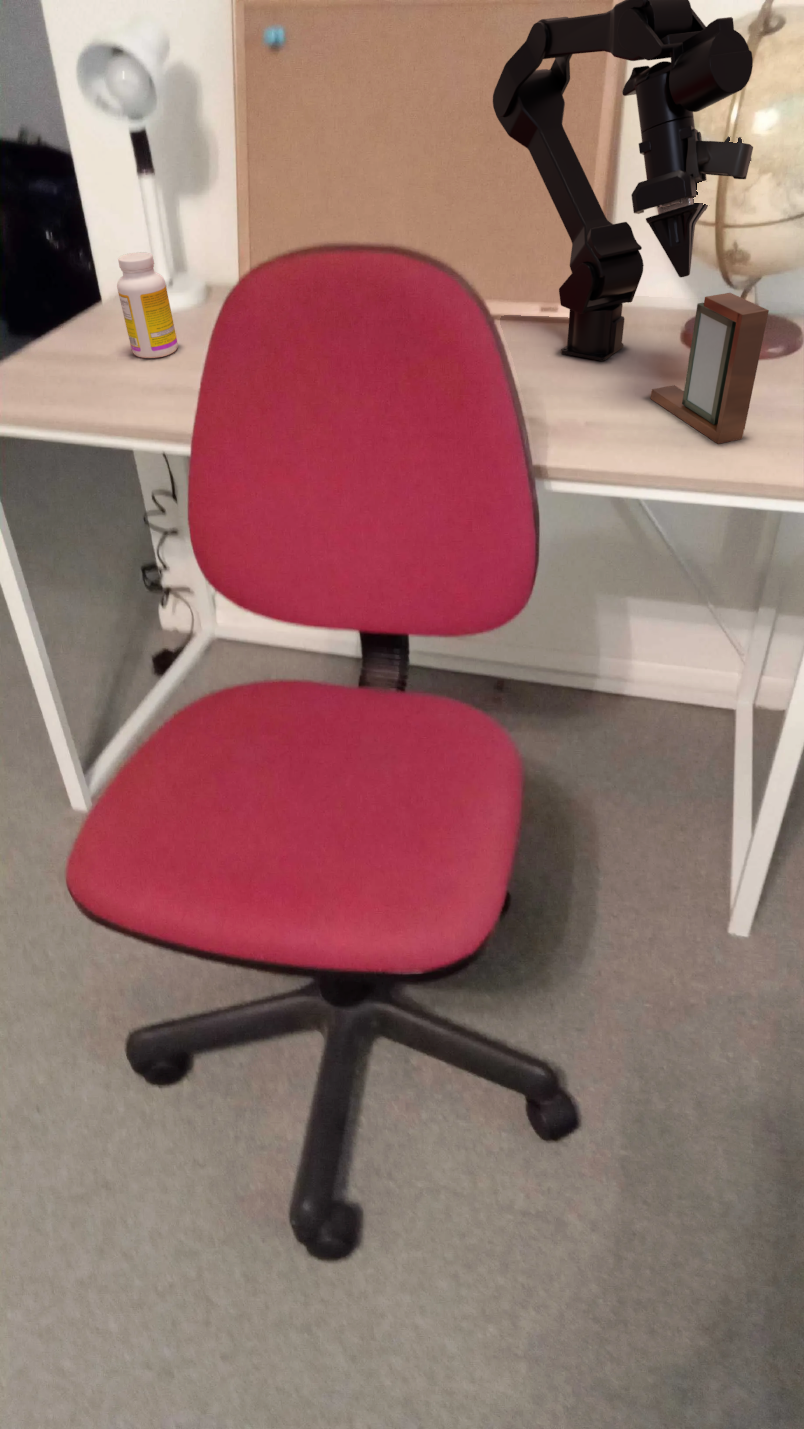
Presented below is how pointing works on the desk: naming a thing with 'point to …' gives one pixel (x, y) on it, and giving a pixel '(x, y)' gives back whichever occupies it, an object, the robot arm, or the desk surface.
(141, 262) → the supplement bottle
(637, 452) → the desk surface
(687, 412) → the window frame
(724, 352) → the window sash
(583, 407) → the desk surface
